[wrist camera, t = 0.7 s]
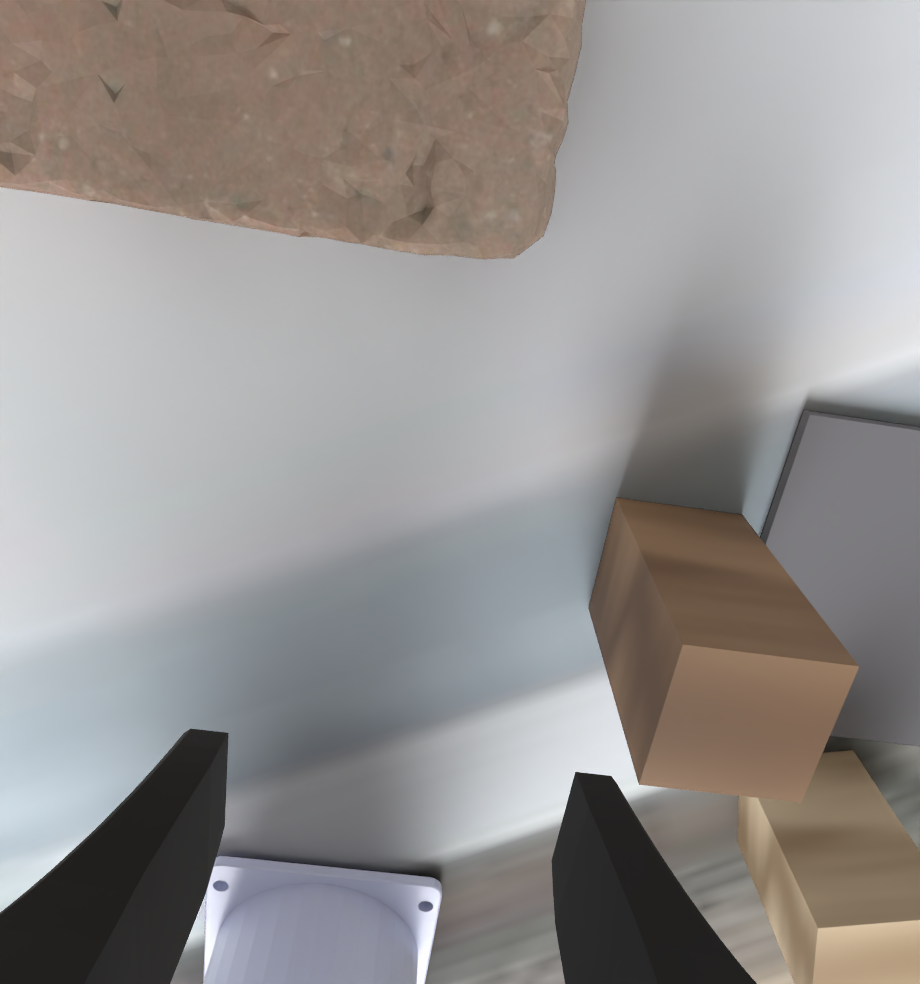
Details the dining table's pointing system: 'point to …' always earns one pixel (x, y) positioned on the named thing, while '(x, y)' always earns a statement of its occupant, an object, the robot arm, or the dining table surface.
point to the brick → (298, 113)
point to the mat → (858, 559)
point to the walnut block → (714, 654)
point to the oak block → (836, 878)
